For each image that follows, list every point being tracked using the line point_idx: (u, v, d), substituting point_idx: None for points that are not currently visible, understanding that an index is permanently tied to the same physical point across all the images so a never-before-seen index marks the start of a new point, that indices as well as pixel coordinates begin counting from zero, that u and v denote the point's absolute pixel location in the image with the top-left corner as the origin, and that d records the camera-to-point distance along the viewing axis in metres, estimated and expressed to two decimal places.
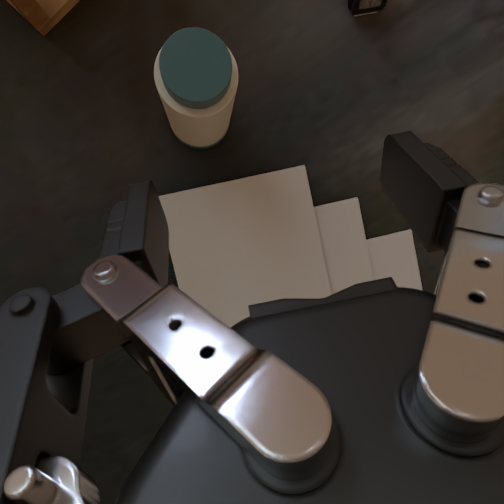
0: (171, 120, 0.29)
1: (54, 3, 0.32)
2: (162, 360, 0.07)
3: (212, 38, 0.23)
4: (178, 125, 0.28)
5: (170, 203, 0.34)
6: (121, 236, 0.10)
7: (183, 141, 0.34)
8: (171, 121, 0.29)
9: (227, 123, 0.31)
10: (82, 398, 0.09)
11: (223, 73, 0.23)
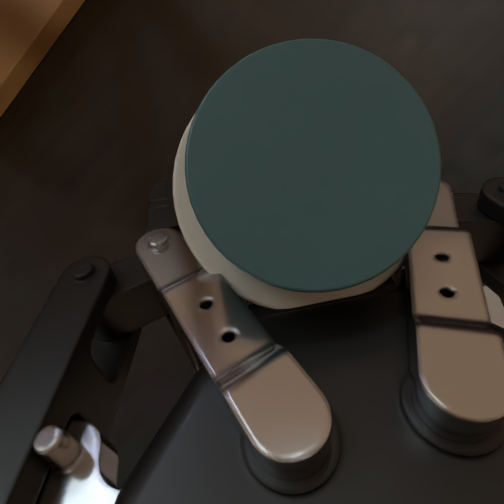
0: None
1: None
2: (186, 335, 0.07)
3: (354, 63, 0.07)
4: None
5: None
6: (168, 212, 0.11)
7: None
8: None
9: None
10: (123, 368, 0.10)
11: (414, 171, 0.06)
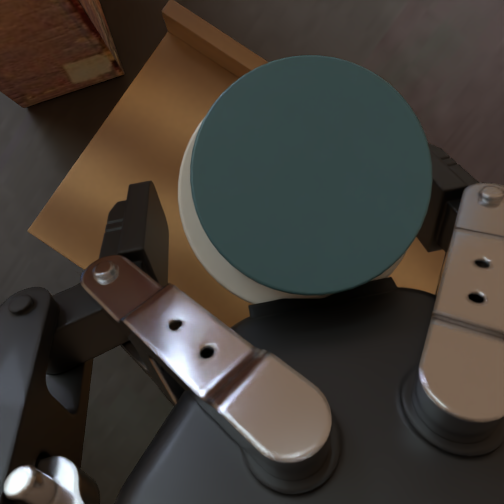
0: None
1: None
2: (162, 360, 0.07)
3: (350, 78, 0.07)
4: None
5: None
6: (121, 236, 0.10)
7: None
8: None
9: None
10: (82, 398, 0.09)
11: (407, 181, 0.07)
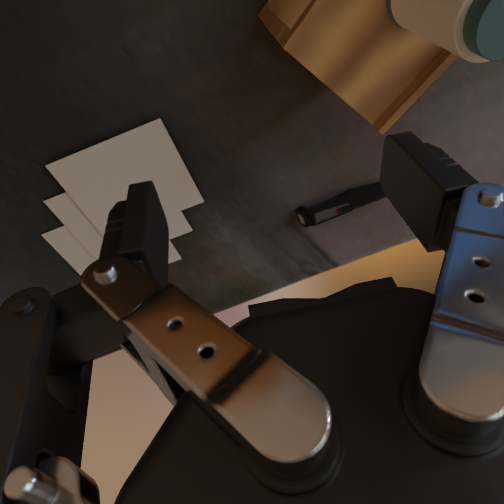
0: None
1: None
2: (162, 360, 0.07)
3: None
4: None
5: (157, 128, 0.49)
6: (121, 236, 0.10)
7: None
8: None
9: (420, 36, 0.30)
10: (82, 398, 0.09)
11: (497, 52, 0.24)
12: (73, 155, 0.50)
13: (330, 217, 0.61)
